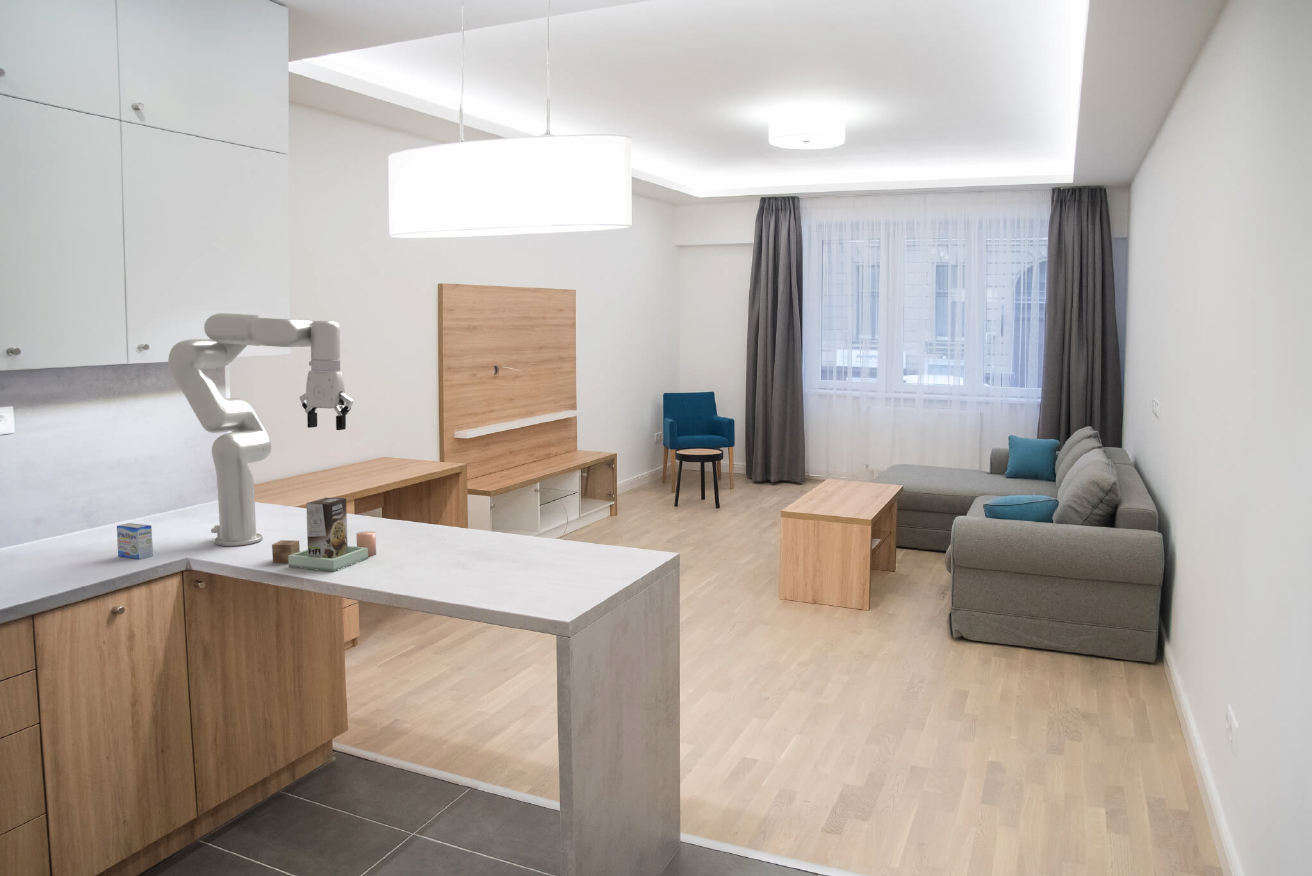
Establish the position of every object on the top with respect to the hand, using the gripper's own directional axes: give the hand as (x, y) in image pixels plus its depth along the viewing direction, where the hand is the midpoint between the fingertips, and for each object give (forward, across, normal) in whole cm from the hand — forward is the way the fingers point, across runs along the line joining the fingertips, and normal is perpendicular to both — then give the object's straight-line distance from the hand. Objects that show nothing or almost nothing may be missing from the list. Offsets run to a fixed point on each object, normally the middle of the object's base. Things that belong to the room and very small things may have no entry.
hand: (326, 428), depth 249 cm
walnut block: (+34, -1, -15) cm, 37 cm away
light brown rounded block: (+34, +14, -2) cm, 37 cm away
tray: (+34, +11, -12) cm, 37 cm away
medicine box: (+35, -42, -26) cm, 61 cm away
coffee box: (+33, +10, -12) cm, 37 cm away
